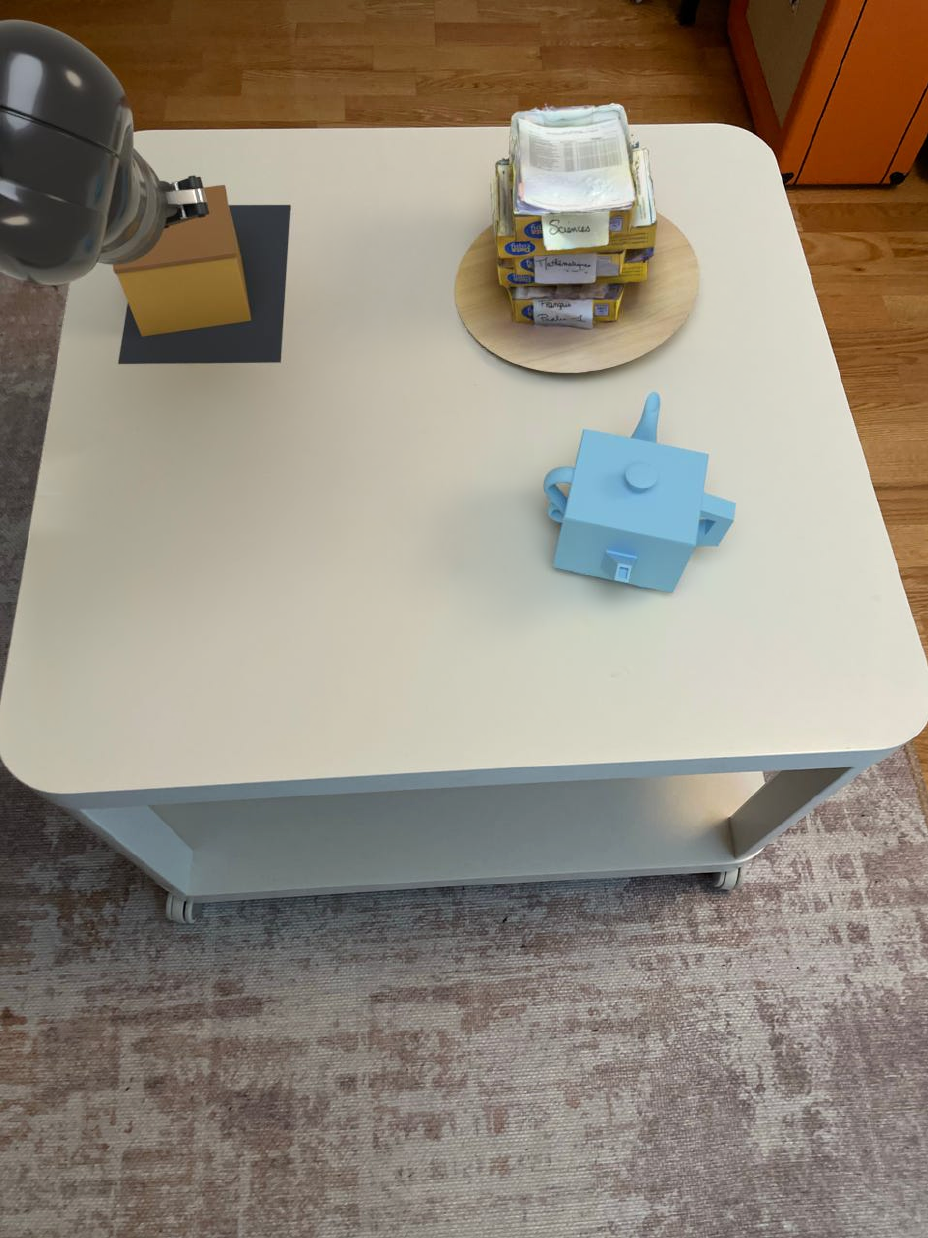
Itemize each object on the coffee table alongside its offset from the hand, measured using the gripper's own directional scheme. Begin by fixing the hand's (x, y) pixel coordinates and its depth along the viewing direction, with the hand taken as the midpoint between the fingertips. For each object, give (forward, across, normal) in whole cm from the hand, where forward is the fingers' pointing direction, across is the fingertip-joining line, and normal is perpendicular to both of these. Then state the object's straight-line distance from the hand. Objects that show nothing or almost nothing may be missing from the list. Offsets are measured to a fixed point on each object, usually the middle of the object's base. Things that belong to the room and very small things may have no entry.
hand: (134, 220), depth 74 cm
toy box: (+22, -1, +6) cm, 23 cm away
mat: (+24, -3, +5) cm, 24 cm away
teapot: (-4, -35, +33) cm, 49 cm away
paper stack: (+17, -40, +12) cm, 45 cm away
